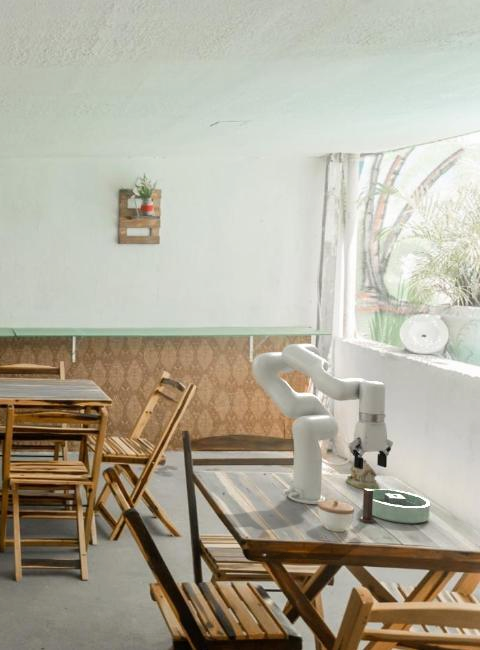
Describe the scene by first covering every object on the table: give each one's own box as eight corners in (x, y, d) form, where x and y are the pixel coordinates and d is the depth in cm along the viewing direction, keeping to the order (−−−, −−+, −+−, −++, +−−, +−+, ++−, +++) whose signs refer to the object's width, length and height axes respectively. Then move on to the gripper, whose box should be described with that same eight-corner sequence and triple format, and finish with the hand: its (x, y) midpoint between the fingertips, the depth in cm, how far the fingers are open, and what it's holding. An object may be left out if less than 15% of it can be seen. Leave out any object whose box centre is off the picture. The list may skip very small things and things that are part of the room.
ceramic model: (342, 478, 279) (342, 454, 278) (371, 479, 277) (372, 456, 277) (356, 489, 265) (357, 464, 265) (386, 490, 263) (387, 465, 263)
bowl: (396, 527, 225) (397, 509, 225) (350, 507, 244) (350, 491, 244) (443, 522, 230) (443, 505, 230) (394, 503, 249) (394, 487, 249)
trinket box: (352, 536, 216) (353, 508, 216) (315, 530, 222) (316, 502, 222) (354, 526, 225) (355, 499, 225) (318, 520, 231) (319, 493, 231)
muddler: (367, 523, 228) (368, 492, 227) (356, 519, 232) (357, 488, 232) (377, 522, 229) (379, 491, 228) (367, 518, 233) (368, 487, 233)
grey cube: (399, 507, 241) (400, 494, 241) (405, 512, 237) (405, 498, 236) (384, 506, 242) (384, 493, 242) (389, 511, 238) (390, 497, 237)
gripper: (383, 414, 234) (381, 462, 235) (341, 416, 230) (340, 466, 231) (401, 418, 227) (400, 468, 228) (359, 421, 223) (358, 472, 223)
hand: (370, 467), depth 229 cm, fingers open, 9 cm apart
